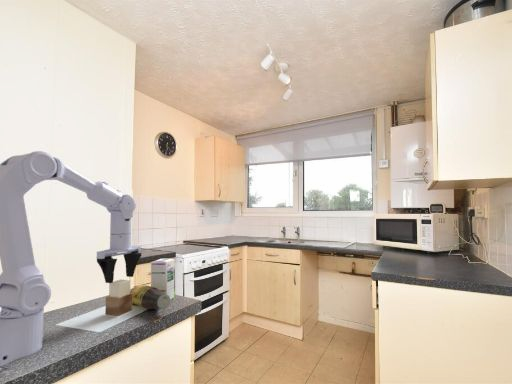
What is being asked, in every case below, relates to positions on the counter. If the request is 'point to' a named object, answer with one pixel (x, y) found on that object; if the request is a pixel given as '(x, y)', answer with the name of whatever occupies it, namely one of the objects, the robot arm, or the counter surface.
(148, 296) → the sauce bottle
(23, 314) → the robot arm
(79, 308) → the counter surface
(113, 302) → the walnut block
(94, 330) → the board
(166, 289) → the syrup box
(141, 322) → the counter surface
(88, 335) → the counter surface
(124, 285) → the cream block
